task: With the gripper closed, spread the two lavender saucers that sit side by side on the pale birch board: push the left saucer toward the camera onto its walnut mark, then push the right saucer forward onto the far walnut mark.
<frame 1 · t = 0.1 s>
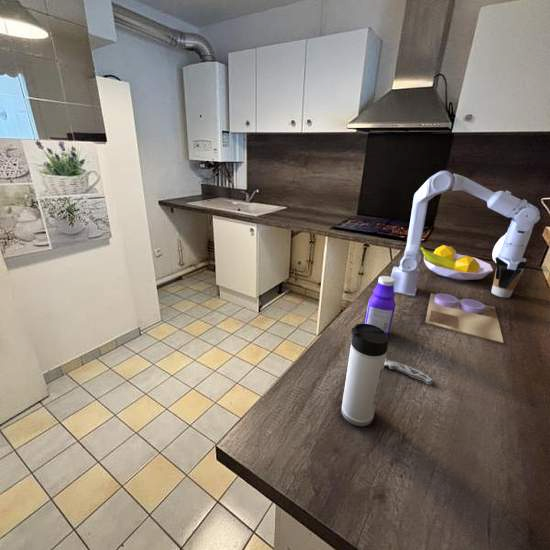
hand: (500, 283, 96), 10 cm above the worktop, tool pointing down, fingers open, 7 cm apart
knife: (392, 369, 71), on the worktop
saucer b: (471, 308, 99), point 1 cm above the worktop, touching board
board: (461, 315, 96), on the worktop
travel mug: (356, 414, 59), on the worktop
saucer a: (445, 302, 103), resting on board
fruit bowl: (450, 274, 130), on the worktop
coffee cup: (500, 295, 111), on the worktop
bottle: (376, 332, 86), on the worktop
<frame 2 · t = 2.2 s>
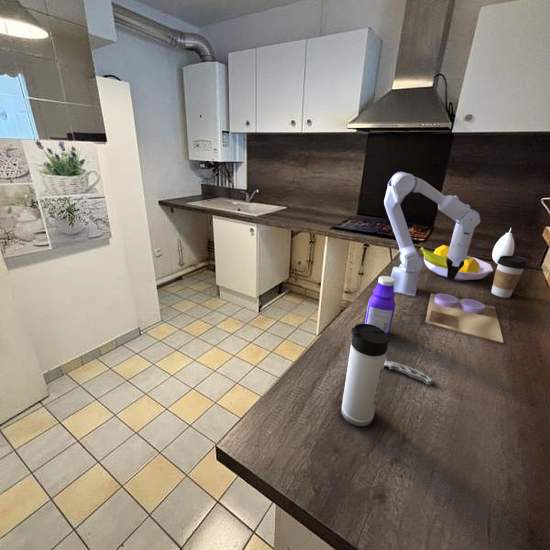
hand: (450, 278, 107), 7 cm above the worktop, tool pointing down, fingers closed
nothing on the worktop moved.
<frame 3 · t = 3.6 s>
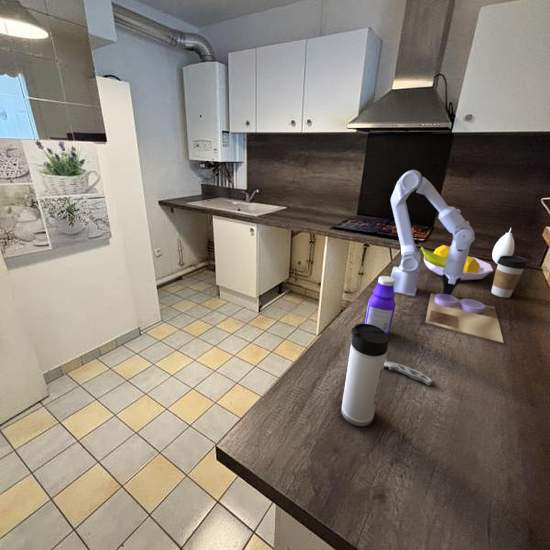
hand: (446, 295, 106), 2 cm above the worktop, tool pointing down, fingers closed
saucer a: (445, 302, 103), point 1 cm above the worktop, touching board, gripper
everything else where it was.
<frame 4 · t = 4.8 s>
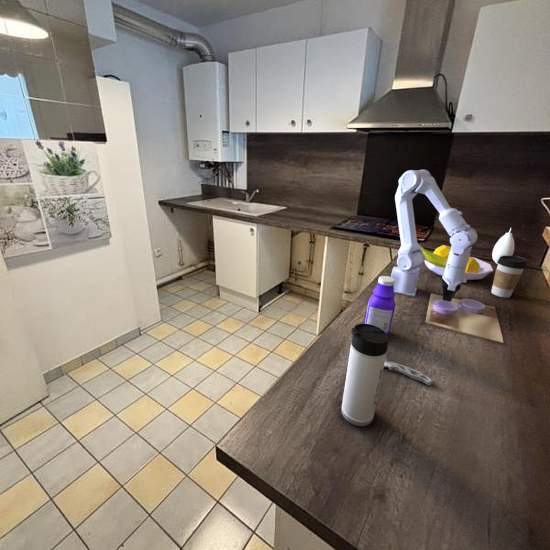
hand: (446, 301, 101), 2 cm above the worktop, tool pointing down, fingers closed
saucer a: (444, 309, 98), point 1 cm above the worktop, touching gripper
everything else where it was.
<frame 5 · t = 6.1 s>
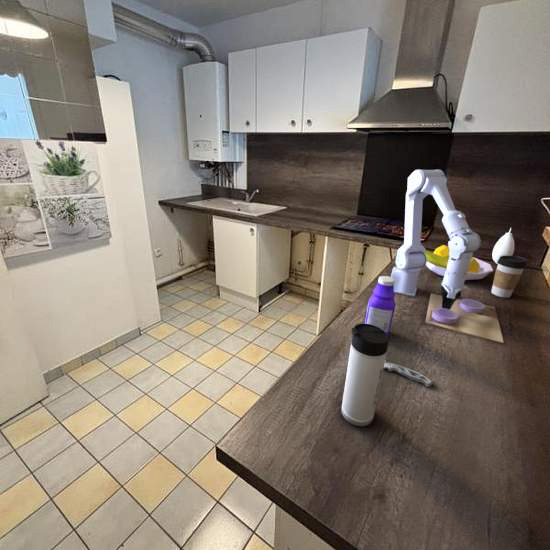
hand: (445, 309, 96), 2 cm above the worktop, tool pointing down, fingers closed
saucer a: (444, 318, 93), point 1 cm above the worktop, touching gripper
everything else where it was.
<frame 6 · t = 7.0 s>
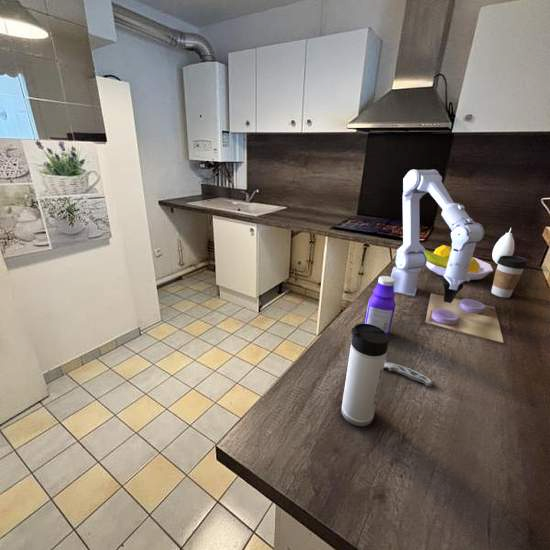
hand: (447, 301, 95), 5 cm above the worktop, tool pointing down, fingers closed
saucer a: (443, 318, 93), point 1 cm above the worktop, touching board
everything else where it was.
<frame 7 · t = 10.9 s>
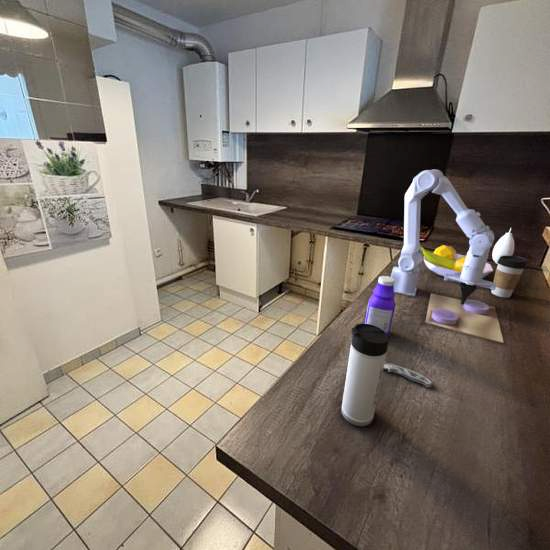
hand: (462, 303, 100), 2 cm above the worktop, tool pointing down, fingers closed, pressing on saucer b
saucer b: (474, 309, 99), point 1 cm above the worktop, touching gripper
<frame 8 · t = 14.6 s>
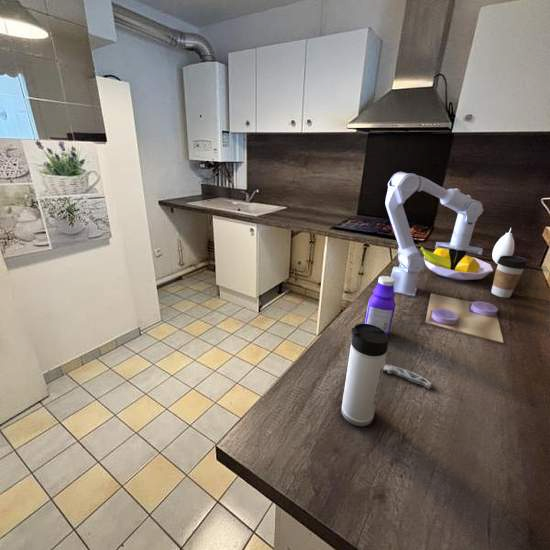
hand: (452, 269, 109), 9 cm above the worktop, tool pointing down, fingers closed
saucer b: (483, 310, 98), point 1 cm above the worktop, touching board
at the end: saucer a inside the target area (0.1 cm from its centre), point 0.5 cm above the worktop; saucer b 0.1 cm from the target spot, point 0.5 cm above the worktop; saucer a tilted 0° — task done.
